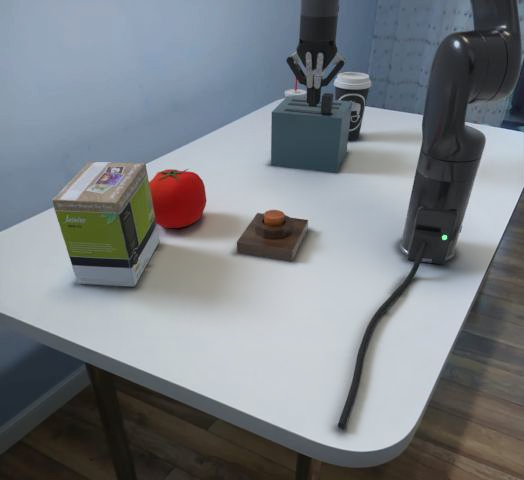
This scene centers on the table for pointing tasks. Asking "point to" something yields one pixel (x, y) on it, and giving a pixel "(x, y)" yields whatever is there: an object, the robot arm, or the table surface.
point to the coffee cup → (353, 97)
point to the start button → (274, 218)
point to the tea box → (108, 223)
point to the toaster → (309, 135)
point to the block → (273, 238)
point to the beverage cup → (296, 92)
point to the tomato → (177, 198)
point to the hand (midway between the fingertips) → (313, 105)
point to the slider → (326, 103)
